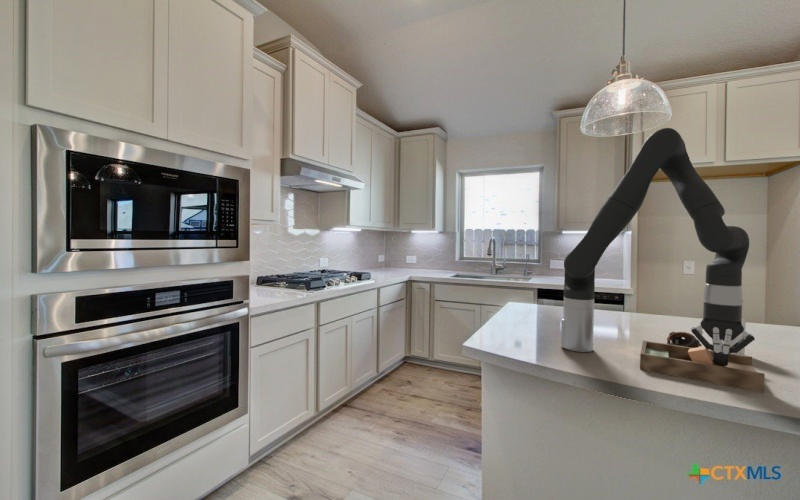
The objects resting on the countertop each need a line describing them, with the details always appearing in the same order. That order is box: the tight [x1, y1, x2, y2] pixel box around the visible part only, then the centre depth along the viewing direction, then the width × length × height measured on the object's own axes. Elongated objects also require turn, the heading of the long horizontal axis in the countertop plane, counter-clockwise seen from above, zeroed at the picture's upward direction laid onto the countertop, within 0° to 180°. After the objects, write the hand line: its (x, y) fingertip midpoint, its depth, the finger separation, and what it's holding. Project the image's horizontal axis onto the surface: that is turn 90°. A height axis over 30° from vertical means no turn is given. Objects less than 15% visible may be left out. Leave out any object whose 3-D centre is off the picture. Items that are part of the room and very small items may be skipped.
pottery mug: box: [666, 331, 703, 348], centre depth 114 cm, size 12×10×8 cm
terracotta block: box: [688, 345, 714, 364], centre depth 97 cm, size 4×4×4 cm
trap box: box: [639, 339, 766, 393], centre depth 100 cm, size 25×16×4 cm, turn 53°
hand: (720, 366), depth 94 cm, fingers closed
